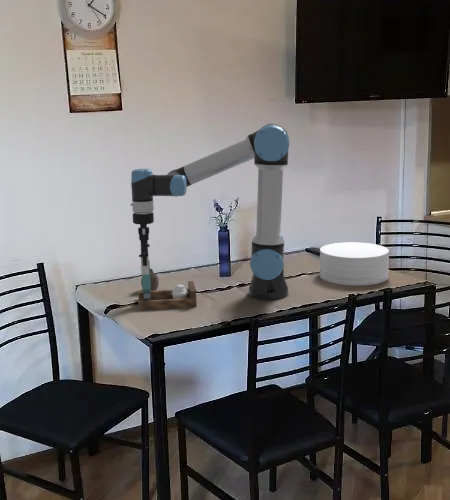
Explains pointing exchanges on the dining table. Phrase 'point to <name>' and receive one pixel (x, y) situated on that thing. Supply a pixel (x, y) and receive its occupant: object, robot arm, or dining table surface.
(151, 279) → the vase
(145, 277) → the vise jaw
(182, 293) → the white rounded lump
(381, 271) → the plate stack
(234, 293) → the dining table surface
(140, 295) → the wooden tray
